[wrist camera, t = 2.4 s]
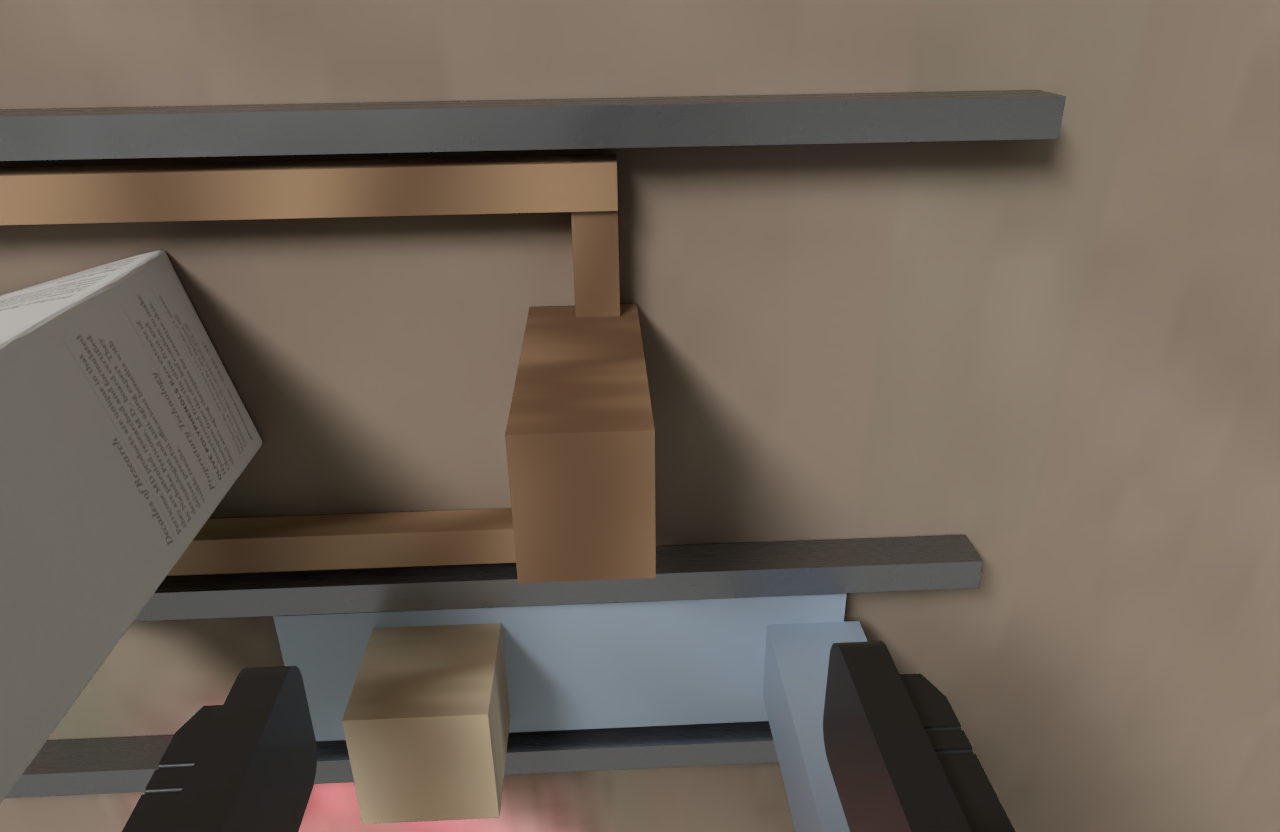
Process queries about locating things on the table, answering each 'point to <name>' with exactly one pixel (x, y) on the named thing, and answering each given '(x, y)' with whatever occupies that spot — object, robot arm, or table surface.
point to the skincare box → (99, 474)
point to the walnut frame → (545, 383)
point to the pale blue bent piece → (629, 671)
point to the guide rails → (497, 584)
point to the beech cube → (429, 724)
